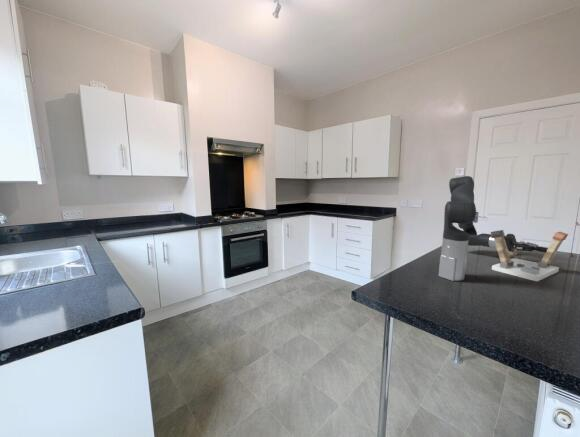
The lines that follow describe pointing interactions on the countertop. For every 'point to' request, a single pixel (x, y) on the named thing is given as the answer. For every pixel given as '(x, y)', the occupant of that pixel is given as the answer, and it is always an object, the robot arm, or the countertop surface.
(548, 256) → the brown long rectangular block
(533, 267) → the panel
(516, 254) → the figurine
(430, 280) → the countertop surface
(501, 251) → the tan wooden post
